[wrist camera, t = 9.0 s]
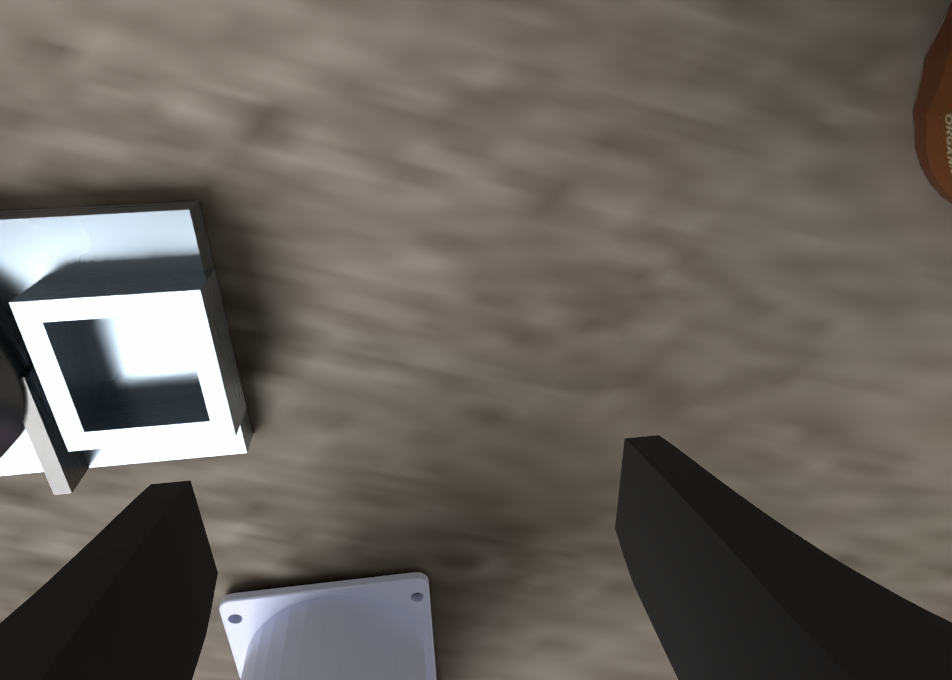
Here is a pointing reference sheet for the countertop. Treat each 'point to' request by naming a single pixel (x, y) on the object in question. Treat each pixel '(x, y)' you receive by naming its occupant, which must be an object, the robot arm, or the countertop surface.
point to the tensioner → (113, 341)
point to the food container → (936, 111)
